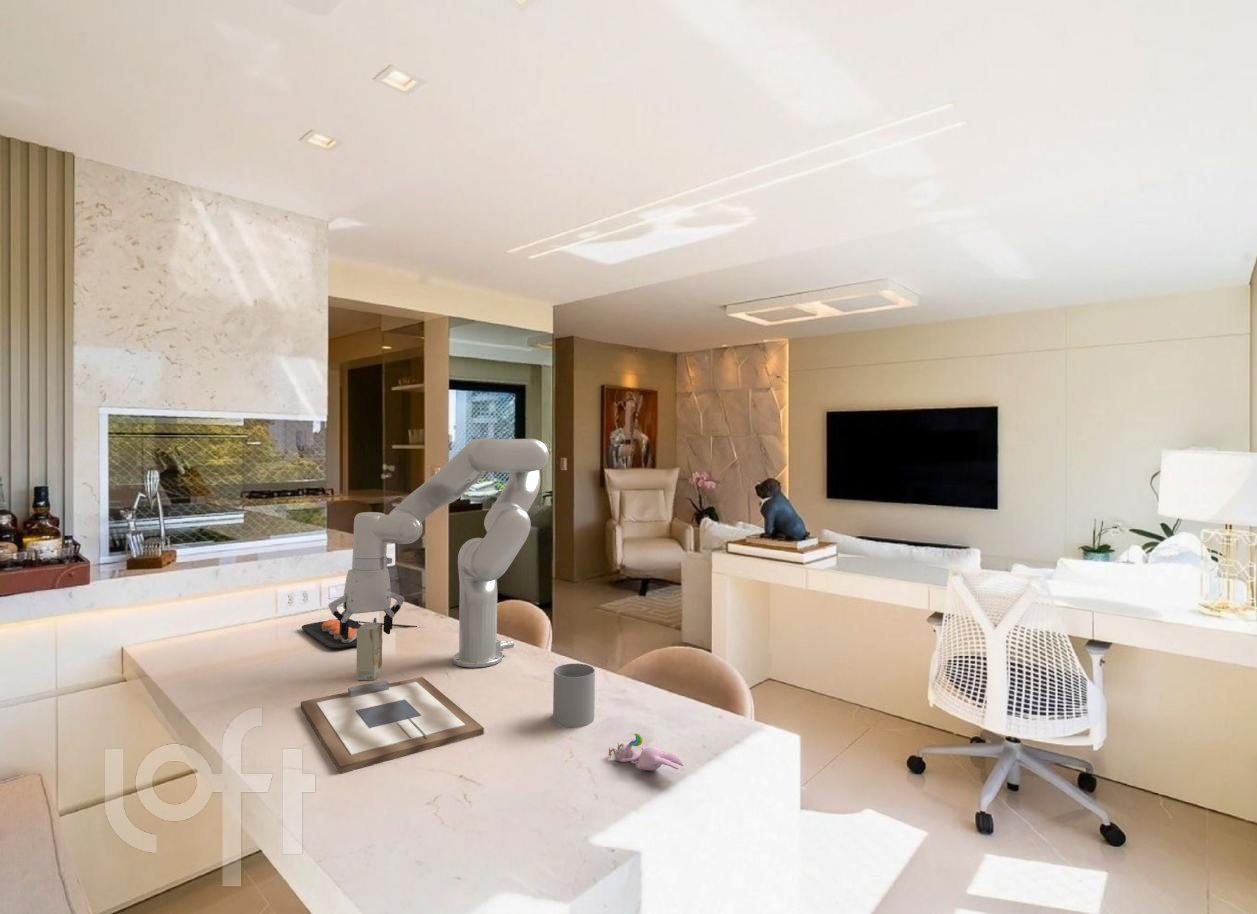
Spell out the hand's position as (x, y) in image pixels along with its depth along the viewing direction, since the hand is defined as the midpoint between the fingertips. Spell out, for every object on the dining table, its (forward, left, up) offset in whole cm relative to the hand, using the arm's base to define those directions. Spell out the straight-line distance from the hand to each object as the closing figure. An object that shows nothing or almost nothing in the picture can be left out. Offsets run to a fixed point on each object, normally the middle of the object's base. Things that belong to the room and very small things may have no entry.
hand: (366, 635), depth 155 cm
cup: (-28, +49, -10) cm, 57 cm away
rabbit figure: (-27, +74, -10) cm, 79 cm away
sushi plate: (-11, -39, -11) cm, 42 cm away
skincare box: (-1, 0, -10) cm, 10 cm away
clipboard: (+3, +28, -10) cm, 30 cm away
